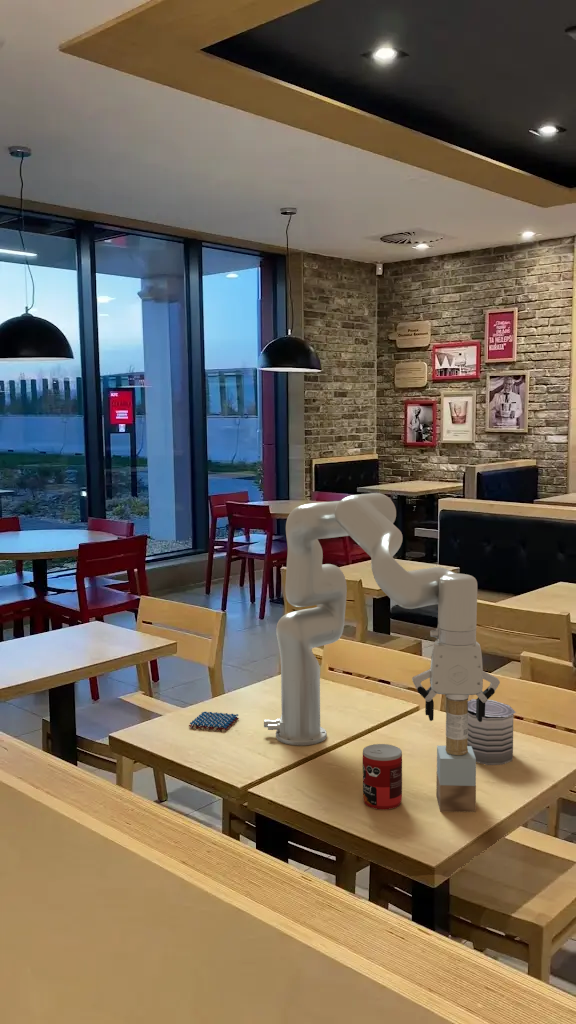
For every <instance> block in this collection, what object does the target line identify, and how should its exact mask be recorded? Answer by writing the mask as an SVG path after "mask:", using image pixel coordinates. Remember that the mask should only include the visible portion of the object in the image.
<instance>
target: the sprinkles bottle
mask: <svg viewBox="0 0 576 1024" xmlns="http://www.w3.org/2000/svg"><path fill="white" fill-rule="evenodd" d="M469 697H470V695H446V694H445V699H446V701H445V703H446V711H445V713H446V714H445V718H446V719H445V746H446V748H445V749H446V752H447V753H449V754H452V755H464V754H466V753H467V752H468V748H467V738H468V701H469Z"/></svg>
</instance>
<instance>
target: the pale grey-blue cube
mask: <svg viewBox="0 0 576 1024" xmlns="http://www.w3.org/2000/svg"><path fill="white" fill-rule="evenodd" d="M445 748H446V745H436V775H437V774H438V778H439V783H440V785H453V786H476V787H477V785H476V784H477V782H476V781H477V763H476V758H475V755H474V752H473V749H472V746H467V748H468V752H467V753H466V754H464V755H452V754H449V753H447V752H446V749H445Z"/></svg>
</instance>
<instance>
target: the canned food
mask: <svg viewBox="0 0 576 1024" xmlns="http://www.w3.org/2000/svg"><path fill="white" fill-rule="evenodd" d="M402 752H403V751H402V749H401V748H400V747H398V746H396V745H392V744H389V743H388V744H387V743H386V744H385V743H376V744H375V743H374V744H369V745H367V746H365V747H364V748H363V749H362V799H363V802H364V804H365V805H366V806H367V807H369V808H371V809H375V810H379V811H380V810H381V811H386V810H393V809H396V808H398V807H399V806H400V805H401V803H402V800H403V753H402Z"/></svg>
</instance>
